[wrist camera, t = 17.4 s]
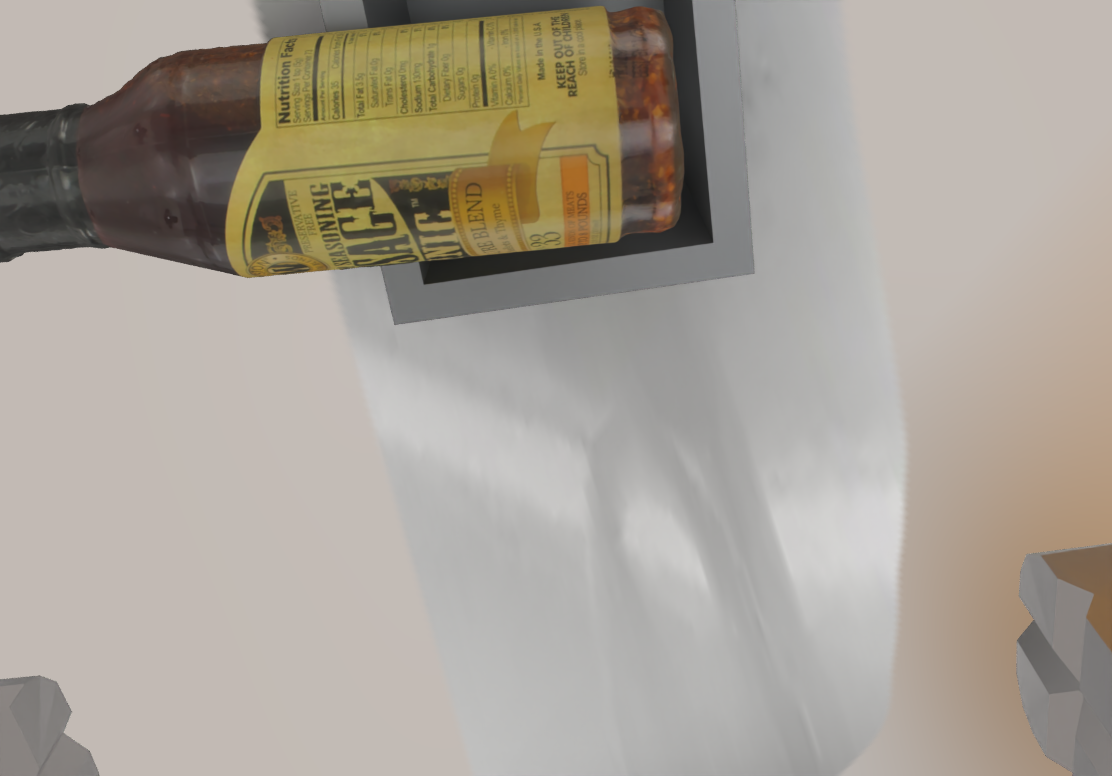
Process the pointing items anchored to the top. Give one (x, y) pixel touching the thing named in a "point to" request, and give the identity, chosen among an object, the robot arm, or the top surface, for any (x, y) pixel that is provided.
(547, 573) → the top surface
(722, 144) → the bin
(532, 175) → the sauce bottle
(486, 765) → the top surface
